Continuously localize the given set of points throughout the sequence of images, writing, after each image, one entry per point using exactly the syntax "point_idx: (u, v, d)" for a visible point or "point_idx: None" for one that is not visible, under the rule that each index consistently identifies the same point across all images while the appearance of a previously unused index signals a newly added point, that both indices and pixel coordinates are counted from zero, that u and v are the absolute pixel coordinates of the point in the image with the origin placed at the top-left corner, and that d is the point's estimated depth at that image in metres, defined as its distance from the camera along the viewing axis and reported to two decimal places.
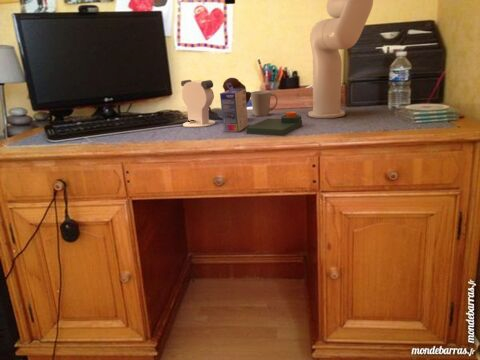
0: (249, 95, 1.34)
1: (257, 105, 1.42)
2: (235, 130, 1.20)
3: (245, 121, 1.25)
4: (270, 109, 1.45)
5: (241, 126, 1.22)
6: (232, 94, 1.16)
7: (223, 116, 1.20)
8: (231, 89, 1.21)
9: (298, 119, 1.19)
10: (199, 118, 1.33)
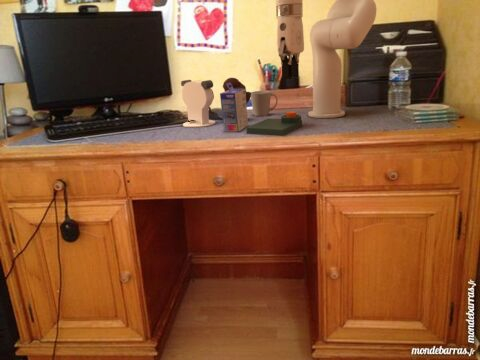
0: (249, 95, 1.34)
1: (257, 105, 1.42)
2: (235, 130, 1.20)
3: (245, 121, 1.25)
4: (270, 109, 1.45)
5: (241, 126, 1.22)
6: (232, 94, 1.16)
7: (223, 116, 1.20)
8: (231, 89, 1.21)
9: (298, 119, 1.19)
10: (199, 118, 1.33)
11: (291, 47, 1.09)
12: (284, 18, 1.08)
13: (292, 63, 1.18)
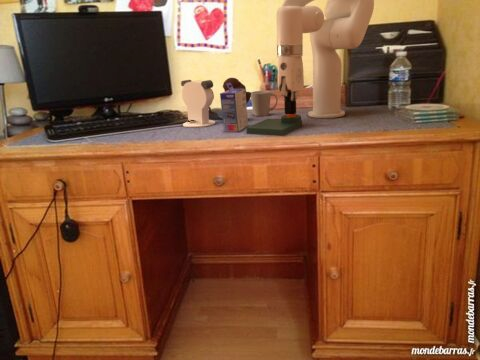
0: (249, 95, 1.34)
1: (257, 105, 1.42)
2: (235, 130, 1.20)
3: (245, 121, 1.25)
4: (270, 109, 1.45)
5: (241, 126, 1.22)
6: (232, 94, 1.16)
7: (223, 116, 1.20)
8: (231, 89, 1.21)
9: (298, 119, 1.19)
10: (199, 118, 1.33)
11: (291, 86, 1.13)
12: (285, 58, 1.11)
13: None
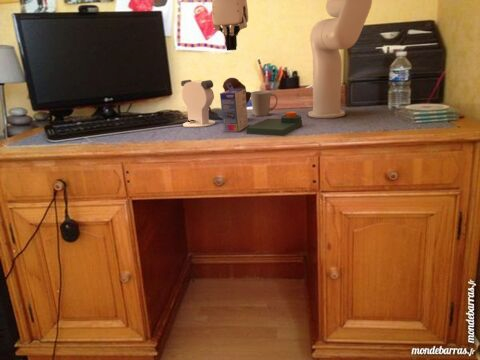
0: (249, 95, 1.34)
1: (257, 105, 1.42)
2: (235, 130, 1.20)
3: (245, 121, 1.25)
4: (270, 109, 1.45)
5: (241, 126, 1.22)
6: (232, 94, 1.16)
7: (223, 116, 1.20)
8: (231, 89, 1.21)
9: (298, 119, 1.19)
10: (199, 118, 1.33)
11: None
12: None
13: (229, 36, 1.16)
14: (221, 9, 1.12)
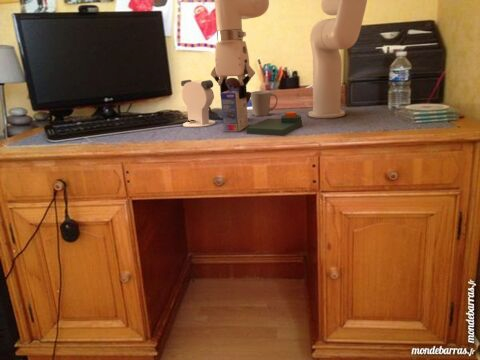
0: (249, 95, 1.34)
1: (257, 105, 1.42)
2: (235, 130, 1.20)
3: (245, 121, 1.25)
4: (270, 109, 1.45)
5: (241, 126, 1.22)
6: (232, 94, 1.16)
7: (223, 116, 1.20)
8: (231, 89, 1.21)
9: (298, 119, 1.19)
10: (199, 118, 1.33)
11: None
12: (243, 42, 1.15)
13: (224, 85, 1.22)
14: (224, 62, 1.17)
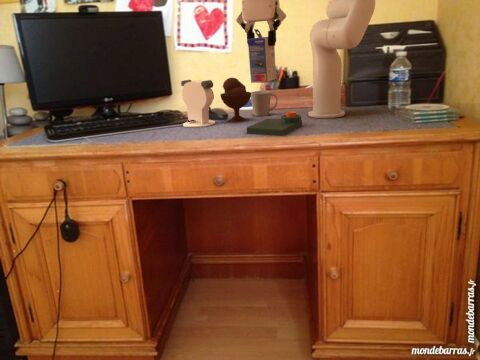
0: (249, 95, 1.34)
1: (257, 105, 1.42)
2: (264, 80, 1.10)
3: (273, 72, 1.15)
4: (270, 109, 1.45)
5: (269, 77, 1.12)
6: (262, 39, 1.06)
7: (251, 65, 1.10)
8: (259, 36, 1.11)
9: (298, 119, 1.19)
10: (199, 118, 1.33)
11: None
12: None
13: (251, 32, 1.12)
14: (252, 4, 1.07)
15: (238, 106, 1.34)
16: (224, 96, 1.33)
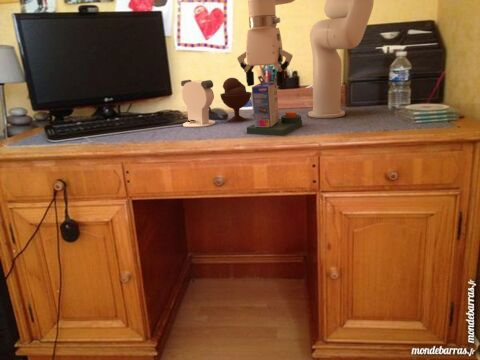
0: (249, 95, 1.34)
1: None
2: (267, 126, 1.14)
3: (276, 116, 1.19)
4: None
5: (272, 122, 1.16)
6: (265, 87, 1.10)
7: (254, 111, 1.14)
8: (263, 82, 1.15)
9: (298, 119, 1.19)
10: (199, 118, 1.33)
11: None
12: (277, 29, 1.08)
13: (250, 72, 1.16)
14: (256, 50, 1.11)
15: (238, 106, 1.34)
16: (224, 96, 1.33)
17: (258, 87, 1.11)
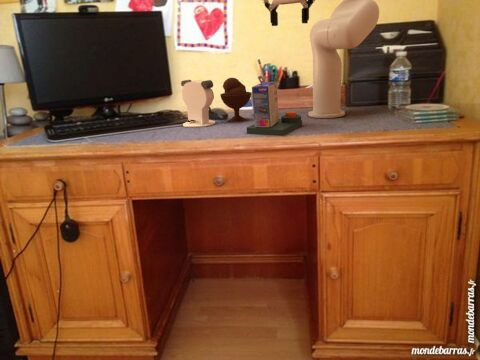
0: (249, 95, 1.34)
1: None
2: (267, 126, 1.14)
3: (276, 116, 1.19)
4: None
5: (272, 122, 1.16)
6: (265, 87, 1.10)
7: (254, 111, 1.14)
8: (263, 82, 1.15)
9: (298, 119, 1.19)
10: (199, 118, 1.33)
11: None
12: None
13: (274, 11, 1.17)
14: None
15: (238, 106, 1.34)
16: (224, 96, 1.33)
17: (258, 87, 1.11)
